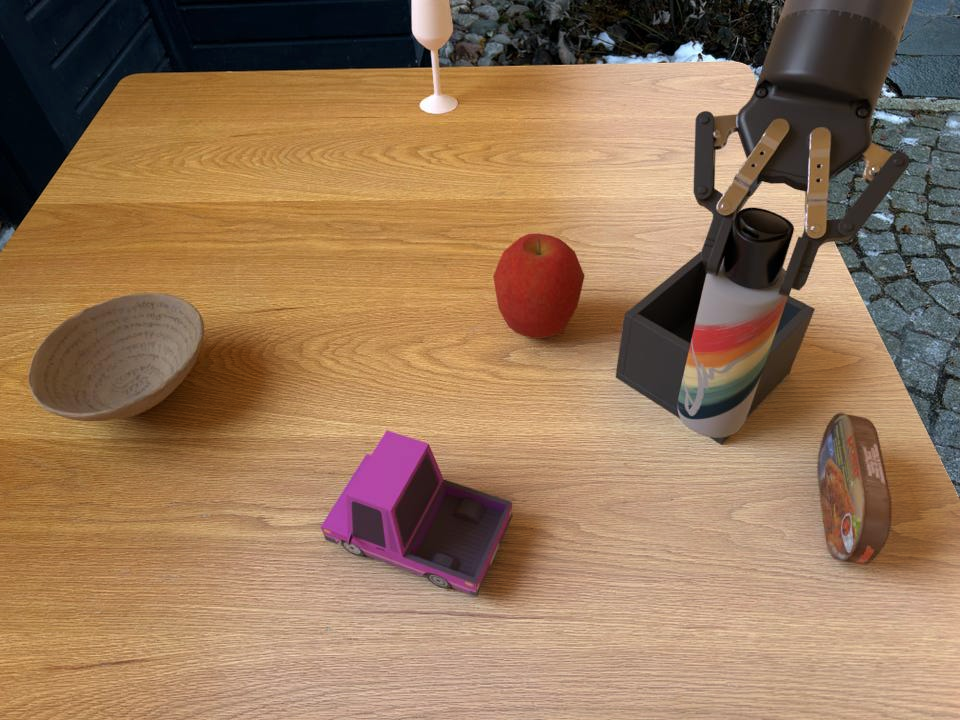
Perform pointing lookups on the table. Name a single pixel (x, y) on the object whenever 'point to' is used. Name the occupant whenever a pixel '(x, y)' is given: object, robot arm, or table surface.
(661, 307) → the bin
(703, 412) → the lotion bottle
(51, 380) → the bowl
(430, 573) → the toy truck
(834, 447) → the tin
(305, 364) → the table surface
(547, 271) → the apple
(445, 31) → the champagne flute
